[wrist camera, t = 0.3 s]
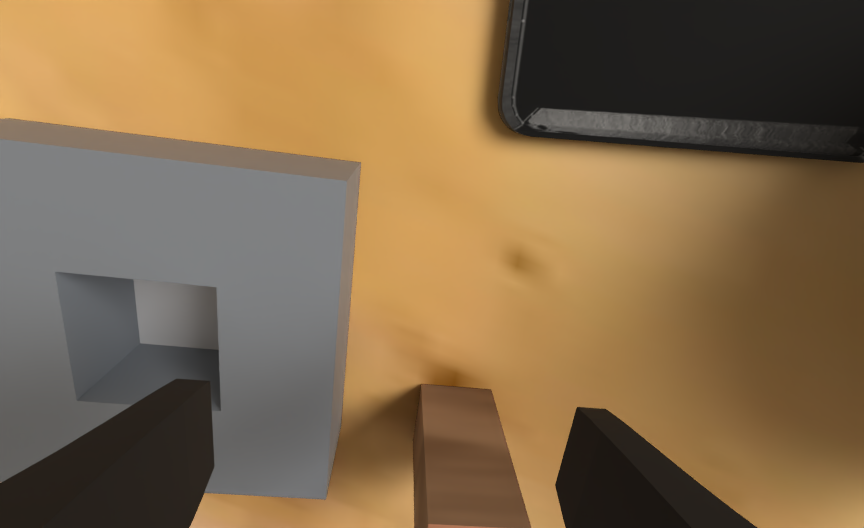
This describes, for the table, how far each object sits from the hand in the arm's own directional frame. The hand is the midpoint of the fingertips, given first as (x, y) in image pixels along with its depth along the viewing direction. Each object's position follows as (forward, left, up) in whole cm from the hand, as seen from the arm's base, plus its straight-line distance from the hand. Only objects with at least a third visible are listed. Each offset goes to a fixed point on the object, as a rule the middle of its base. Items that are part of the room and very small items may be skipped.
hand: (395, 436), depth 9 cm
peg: (-7, -3, -10) cm, 12 cm away
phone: (+10, -10, -10) cm, 17 cm away
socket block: (-2, +8, -10) cm, 13 cm away
